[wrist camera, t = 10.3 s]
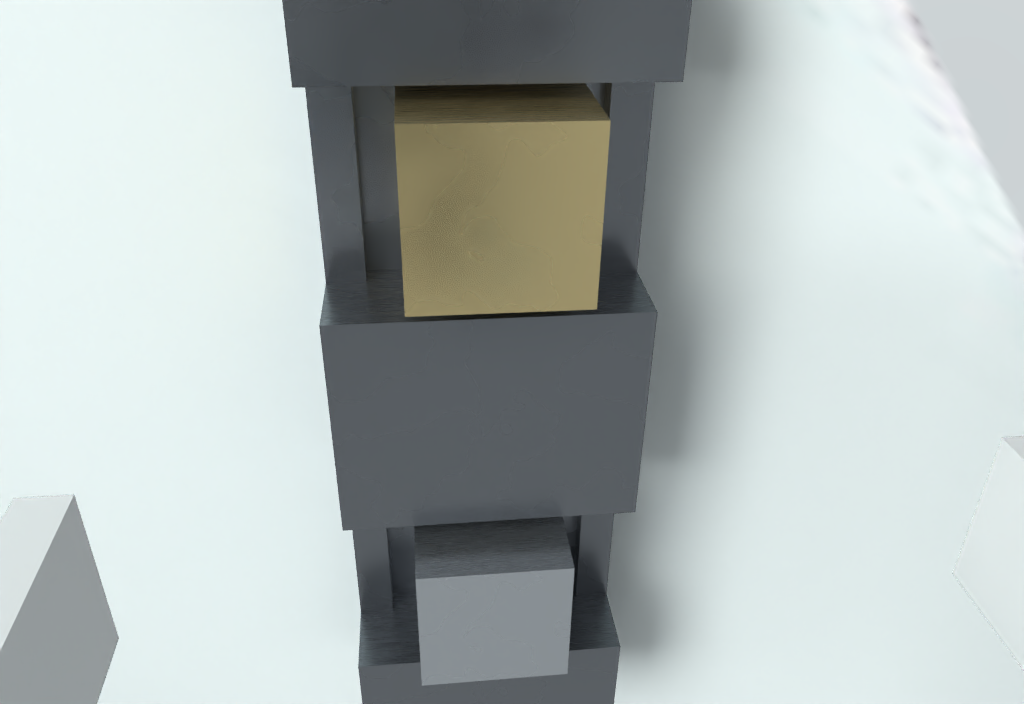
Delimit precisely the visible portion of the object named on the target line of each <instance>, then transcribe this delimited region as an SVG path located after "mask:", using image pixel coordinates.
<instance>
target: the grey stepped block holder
mask: <svg viewBox="0 0 1024 704" xmlns="http://www.w3.org/2000/svg"><path fill="white" fill-rule="evenodd" d="M282 2H283V11H284V19H285V28H286V37H287V46H288V54H289V63H290V72H291V81H292V87H305V90H306V99H307V109H308V118H309V127H310V137H311V146H312V155H313V165H314V174H315V184H316V193H317V202H318V212H319V221H320V230H321V240H322V249H323V259H324V268H325V277H326V287H325V294H324V300H323V306H322V313H321V319H320V335H321V343H322V352H323V361H324V370H325V379H326V387H327V396H328V405H329V414H330V422H331V431H332V440H333V449H334V457H335V466H336V475H337V484H338V492H339V501H340V510H341V519H342V527H343V530H353V540H354V549H355V558H356V568H357V577H358V587H359V596H360V605H361V625H360V646H359V666H358V668H359V676H360V685H361V694H362V703H363V704H614V697H615V688H616V679H617V670H618V661H619V652H620V645H619V641H618V637H617V633H616V629H615V625H614V622H613V618H612V614H611V610H610V606H609V603H608V599H607V595H606V590H607V580H608V569H609V558H610V548H611V537H612V527H613V516H614V513H626V512H635V508H636V499H637V490H638V481H639V472H640V463H641V454H642V445H643V436H644V427H645V418H646V409H647V400H648V391H649V382H650V373H651V364H652V355H653V346H654V337H655V328H656V319H657V310H656V308H655V307H654V305H653V303H652V301H651V299H650V297H649V295H648V293H647V291H646V289H645V287H644V285H643V283H642V281H641V279H640V277H639V275H638V273H637V264H638V253H639V242H640V232H641V221H642V211H643V200H644V190H645V179H646V169H647V158H648V148H649V137H650V127H651V116H652V106H653V95H654V84H655V82H683V76H684V67H685V58H686V49H687V40H688V31H689V22H690V13H691V4H692V0H282ZM556 83H586V85H587V86H588V88H589V89H590V91H591V92H592V94H593V95H594V97H595V98H596V100H597V101H598V103H599V104H600V105H601V107H602V108H603V110H604V111H605V113H606V114H607V116H608V117H609V119H610V120H611V123H610V137H609V150H608V164H607V178H606V192H605V205H604V219H603V233H602V247H601V261H600V274H599V288H598V302H597V309H595V310H570V311H544V312H519V313H493V314H467V315H442V316H416V317H405V310H404V292H403V274H402V255H401V237H400V219H399V201H398V182H397V164H396V146H395V128H394V114H395V86H424V85H490V84H556ZM547 517H563V520H564V525H565V529H566V533H567V538H568V542H569V546H570V551H571V555H572V559H573V564H574V568H575V569H574V584H573V599H572V613H571V628H570V643H569V658H568V672H567V674H560V675H547V676H535V677H523V678H510V679H498V680H486V681H473V682H461V683H449V684H436V685H424V686H422V679H421V662H420V646H419V629H418V612H417V596H416V578H415V529H414V526H421V525H436V524H452V523H468V522H484V521H499V520H515V519H531V518H547Z"/></svg>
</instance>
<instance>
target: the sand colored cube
mask: <svg viewBox="0 0 1024 704" xmlns="http://www.w3.org/2000/svg"><path fill="white" fill-rule="evenodd" d="M610 123H611V120H610V119H609V117H608V116H607V114H606V113H605V111H604V110H603V108H602V107H601V105H600V104H599V103H598V101H597V100H596V98H595V97H594V95H593V94H592V92H591V91H590V89H589V88H588V86H587V85H586V83H556V84H490V85H424V86H395V114H394V128H395V146H396V164H397V182H398V201H399V219H400V237H401V255H402V274H403V292H404V310H405V317H416V316H442V315H467V314H493V313H519V312H544V311H570V310H595V309H597V302H598V288H599V274H600V261H601V247H602V233H603V219H604V205H605V192H606V178H607V164H608V150H609V137H610Z"/></svg>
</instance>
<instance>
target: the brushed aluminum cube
mask: <svg viewBox="0 0 1024 704" xmlns="http://www.w3.org/2000/svg"><path fill="white" fill-rule="evenodd" d="M414 529H415V578H416V596H417V612H418V629H419V646H420V662H421V679H422V686H424V685H436V684H449V683H461V682H473V681H486V680H498V679H510V678H523V677H535V676H547V675H560V674H567V672H568V658H569V643H570V628H571V613H572V599H573V584H574V569H575V568H574V564H573V559H572V555H571V551H570V546H569V542H568V538H567V533H566V529H565V525H564V520H563V517H547V518H531V519H515V520H499V521H484V522H468V523H452V524H436V525H421V526H414Z"/></svg>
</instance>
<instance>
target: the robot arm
mask: <svg viewBox="0 0 1024 704" xmlns="http://www.w3.org/2000/svg"><path fill="white" fill-rule="evenodd" d="M952 574H953V576H954V577H955V578H956V580H957V581H958V582H959V584H960V585H961V586H962V588H963V589H964V591H965V592H966V593H967V595H968V596H969V597H970V599H971V600H972V601H973V603H974V604H975V605H976V607H977V608H978V610H979V611H980V612H981V614H982V615H983V616H984V618H985V619H986V620H987V622H988V623H989V625H990V626H991V627H992V629H993V630H994V631H995V633H996V634H997V635H998V637H999V638H1000V639H1001V641H1002V642H1003V644H1004V645H1005V646H1006V648H1007V649H1008V650H1009V652H1010V653H1011V654H1012V656H1013V657H1014V659H1015V660H1016V661H1017V663H1018V664H1019V665H1020V667H1021V668H1022V669H1023V671H1024V436H1019V437H1002V438H1001V441H1000V444H999V447H998V449H997V452H996V455H995V458H994V460H993V463H992V466H991V468H990V471H989V474H988V477H987V479H986V482H985V485H984V488H983V490H982V493H981V496H980V499H979V501H978V504H977V507H976V509H975V512H974V515H973V518H972V520H971V523H970V526H969V529H968V531H967V534H966V537H965V540H964V542H963V545H962V548H961V551H960V553H959V556H958V559H957V561H956V564H955V567H954V570H953V572H952ZM118 639H119V637H118V634H117V631H116V628H115V625H114V621H113V618H112V615H111V612H110V608H109V605H108V602H107V599H106V596H105V592H104V589H103V586H102V583H101V579H100V576H99V573H98V570H97V567H96V563H95V560H94V557H93V554H92V551H91V547H90V544H89V541H88V538H87V534H86V531H85V528H84V525H83V522H82V518H81V515H80V512H79V509H78V505H77V502H76V499H75V496H74V494H73V495H56V496H40V497H24V498H13V500H12V501H11V503H10V505H9V507H8V509H7V510H6V512H5V514H4V516H3V518H2V519H1V521H0V704H97V702H98V699H99V696H100V693H101V690H102V687H103V684H104V681H105V678H106V675H107V672H108V669H109V666H110V663H111V660H112V657H113V654H114V651H115V648H116V645H117V642H118Z"/></svg>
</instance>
